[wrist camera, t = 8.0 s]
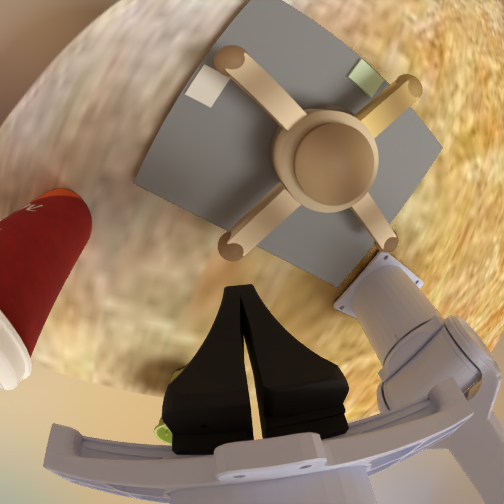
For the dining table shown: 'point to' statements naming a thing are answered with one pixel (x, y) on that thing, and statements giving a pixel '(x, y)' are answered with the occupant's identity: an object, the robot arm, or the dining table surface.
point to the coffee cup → (35, 272)
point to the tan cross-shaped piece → (315, 155)
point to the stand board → (261, 133)
